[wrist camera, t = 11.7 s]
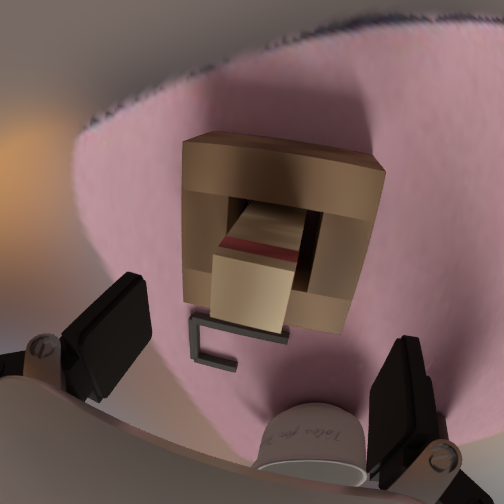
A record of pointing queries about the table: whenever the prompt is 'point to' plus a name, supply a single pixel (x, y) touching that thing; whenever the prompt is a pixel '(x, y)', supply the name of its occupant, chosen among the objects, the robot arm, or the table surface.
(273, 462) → the teacup
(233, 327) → the dark gray angular bracket
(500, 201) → the table surface
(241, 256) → the red striped block
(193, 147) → the wooden square socket block
